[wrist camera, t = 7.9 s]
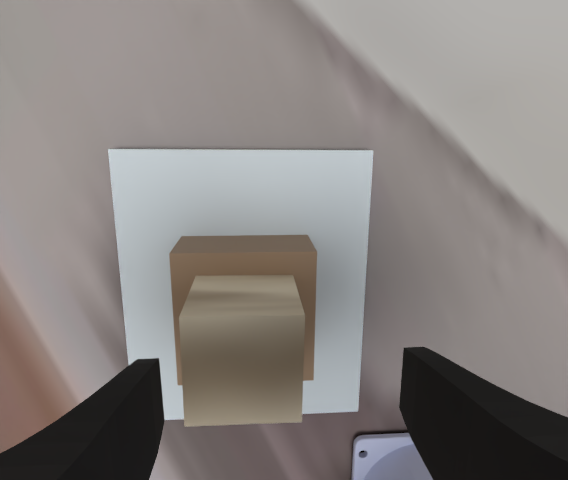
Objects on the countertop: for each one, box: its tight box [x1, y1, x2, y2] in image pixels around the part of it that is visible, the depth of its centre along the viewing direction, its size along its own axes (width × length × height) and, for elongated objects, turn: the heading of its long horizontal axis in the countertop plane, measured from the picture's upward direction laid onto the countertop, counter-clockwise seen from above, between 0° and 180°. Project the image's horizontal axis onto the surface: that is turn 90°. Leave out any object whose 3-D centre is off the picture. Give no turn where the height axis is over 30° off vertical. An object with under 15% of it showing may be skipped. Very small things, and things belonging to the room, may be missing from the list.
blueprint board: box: [108, 149, 373, 420], centre depth 19 cm, size 14×12×4 cm
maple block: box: [179, 275, 305, 427], centre depth 15 cm, size 4×4×4 cm
